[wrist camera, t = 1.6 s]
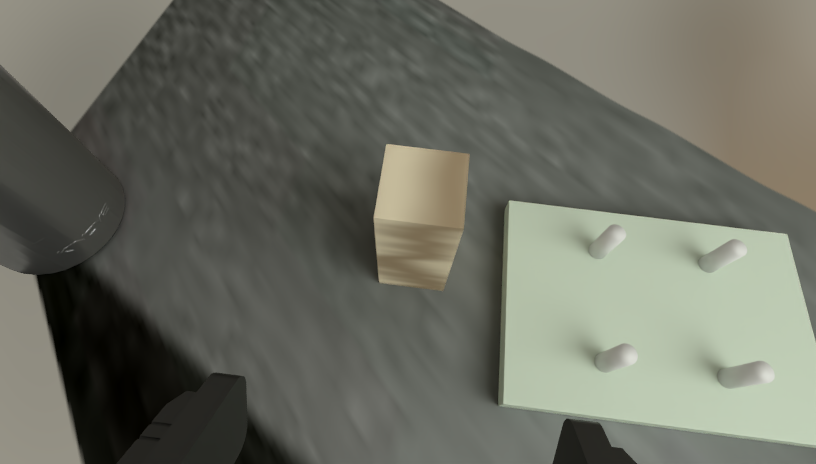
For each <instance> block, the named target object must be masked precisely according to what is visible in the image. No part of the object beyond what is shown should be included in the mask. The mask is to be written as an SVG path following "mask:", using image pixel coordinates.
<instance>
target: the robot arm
mask: <svg viewBox="0 0 816 464" xmlns="http://www.w3.org/2000/svg"><path fill="white" fill-rule="evenodd" d="M124 209H125V195H124V191H123V187H122V185H121V184H120V182H119V180H118V179H117V177H116V176H114V175H113V174H112V173H111V172H110V171H109V170H108V169H107V168H106V167H105V166H104V165H103V164H102V163H101V162H100V161H99V160H98V159H97V158H96V157H95V156H94V155H93V154H92V153H91V152H90V151H89V150H88V149H87V148H86V147H85V146H84V145H83V144H82V143H81V142H80V141H79V140H78V139H77V138H76V137H75V136H74V135H73V134H72V133H71V132H70V131H69V130H68V129H67V128H65V127H64V126H63V125H62V124H61V123H60V122H59V121H58V120H57V119H56V118H55V117H54V116H53V115H52V114H51V113H50V112H49V111H48V110H47V109H46V108H45V107H44V106H43V105H42V104H41V103H40V102H38V101H37V100H36V99H35V98H34V97H33V96H32V95H31V94H30V93H29V92H28V91H27V90H26V89H25V88H24V87H23V86H22V85H21V84H20V83H19V82H18V81H17V80H16V79H15V78H13V77H12V75H10V74H9V73H8V72H7V71H6V70H5V69H4V68H3V67H2V66H1V65H0V265H2V266H5V267H7V268H9V269H12V270H14V271H17V272H20V273H24V274H33V275H40V274H51V273H55V272H59V271H63V270H66V269H69V268H71V267H73V266H75V265H78V264H80V263H82V262H83V261H85V260H86V259H88V258H89V257H91V256H93V255H94V254H95V253H96V252H98V251H99V250H100V249H101V248H102V247H103V246H104V245H105V244H106V243H107V242H108V241H109V239H110V238H111V237H112V236H113V234H114V233H115V232H116V230H117V228H118V226H119V224H120V222H121V220H122V216H123V213H124ZM246 431H247V398H246V380H245V377H244V376H238V375H230V374H222V373H212V374H211V375H210V376H209V377H208V378H207V380H206V381H205V382H204V384H203V385H202V386H201V387H200V389H199V390H198V391H197V392H191V391H186V392H185V393H183V394H182V395H180V396H178V397H177V398H175V399H174V400H172V401H171V402H169V403H168V404H166V405H165V407H164V408H163V409H162V410H161V411H160V413H159V414H158V415H157V416H156V417H155V419H154V420H153V421H152V424H151V425H149V426H148V427H147V428H146V429H145V430H144V432H143V433H142V434H141V435H140V438H139V439H137V440H136V441H135V442H134V443H133V445H132V446H131V447H130V448H129V449H128V451H127V452H126V453H125V454H124V455H123V457H122V458H121V459H120V460H119V461H118V462H117V464H234V462H235V461H236V459H237V457H238V455H239V453H240V451H241V449H242V446H243V444H244V440H245V437H246ZM553 464H637V463H636V462H635V461H634V460H633V459H632V458H631V457H630V456H629V455H628V454H627V453H626V452H625V451H624V450H623V449H622V448H616V447H611V445H610V443H609V441H608V438H607V436H606V434H605V432H604V430H603V428H602V426H601V425H600V424H599V423H598V422H591V421H583V420H575V419H566V420H565V421H564V423H563V427H562V430H561V434H560V438H559V442H558V446H557V449H556V453H555V457H554V461H553Z"/></svg>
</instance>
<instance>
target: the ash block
mask: <svg viewBox="0 0 816 464" xmlns="http://www.w3.org/2000/svg"><path fill="white" fill-rule="evenodd" d="M468 167H469V154H465V153H457V152H449V151H440V150H432V149H424V148H415V147H407V146H399V145H390V144H386V149H385V155H384V161H383V167H382V172H381V178H380V184H379V190H378V195H377V201H376V207H375V213H374V229H375V241H376V253H377V265H378V277H379V283H385V284H393V285H401V286H409V287H416V288H424V289H432V290H440V291H443V290H444V287H445V284H446V281H447V278H448V275H449V272H450V269H451V266H452V263H453V260H454V257H455V254H456V251H457V248H458V245H459V242H460V239H461V236H462V233H463V230H464V219H465V206H466V193H467V180H468Z"/></svg>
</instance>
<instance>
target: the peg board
mask: <svg viewBox="0 0 816 464" xmlns="http://www.w3.org/2000/svg"><path fill="white" fill-rule="evenodd" d="M498 406H503V407H510V408H518V409H525V410H533V411H540V412H548V413H555V414H563V415H570V416H578V417H585V418H593V419H601V420H608V421H616V422H623V423H631V424H638V425H646V426H653V427H661V428H668V429H676V430H683V431H691V432H699V433H706V434H714V435H721V436H729V437H736V438H744V439H751V440H759V441H766V442H774V443H781V444H789V445H797V446H804V447H812V448H816V342H815V338H814V334H813V330H812V327H811V323H810V319H809V315H808V312H807V308H806V304H805V300H804V297H803V293H802V289H801V285H800V281H799V278H798V274H797V270H796V266H795V263H794V259H793V255H792V251H791V248H790V244H789V240H788V236H787V234H781V233H773V232H764V231H756V230H748V229H740V228H731V227H723V226H715V225H707V224H699V223H690V222H682V221H674V220H666V219H657V218H649V217H641V216H633V215H625V214H616V213H608V212H600V211H592V210H583V209H575V208H567V207H559V206H551V205H542V204H534V203H526V202H518V201H510V200H509V202H508V204H507V206H506V208H505V214H504V244H503V273H502V303H501V333H500V362H499V392H498Z"/></svg>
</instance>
